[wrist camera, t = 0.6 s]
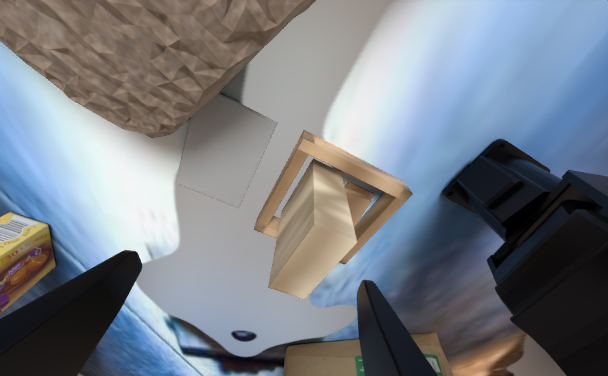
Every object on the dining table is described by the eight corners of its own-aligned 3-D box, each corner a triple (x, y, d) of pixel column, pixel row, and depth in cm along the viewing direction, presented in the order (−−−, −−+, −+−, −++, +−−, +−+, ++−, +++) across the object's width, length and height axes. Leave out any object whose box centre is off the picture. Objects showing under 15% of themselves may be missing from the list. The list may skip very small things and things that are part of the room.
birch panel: (340, 172, 21) (357, 242, 14) (306, 221, 25) (304, 299, 17) (313, 158, 21) (314, 224, 13) (281, 211, 24) (268, 287, 16)
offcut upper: (368, 195, 22) (370, 201, 21) (346, 230, 25) (348, 236, 24) (341, 186, 22) (342, 191, 21) (321, 222, 24) (322, 229, 23)
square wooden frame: (404, 182, 22) (412, 193, 20) (342, 250, 27) (344, 264, 25) (304, 129, 19) (303, 138, 17) (257, 216, 24) (253, 229, 23)
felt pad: (277, 122, 19) (277, 124, 18) (239, 205, 24) (238, 208, 23) (201, 83, 17) (199, 84, 17) (177, 180, 22) (175, 183, 22)
